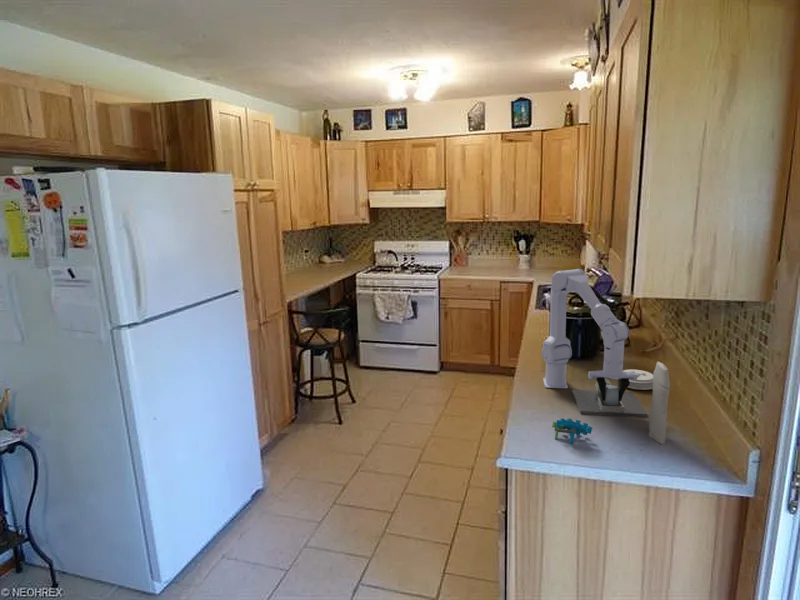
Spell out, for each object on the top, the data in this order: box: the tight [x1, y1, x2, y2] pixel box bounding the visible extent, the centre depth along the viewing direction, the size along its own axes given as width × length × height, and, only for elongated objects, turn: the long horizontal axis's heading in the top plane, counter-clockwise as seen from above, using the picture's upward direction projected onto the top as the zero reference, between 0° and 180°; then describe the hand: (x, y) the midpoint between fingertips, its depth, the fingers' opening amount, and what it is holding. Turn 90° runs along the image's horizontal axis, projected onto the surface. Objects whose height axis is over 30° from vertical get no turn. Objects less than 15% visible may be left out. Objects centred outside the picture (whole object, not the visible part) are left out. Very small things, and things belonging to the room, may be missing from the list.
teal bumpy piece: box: [551, 418, 593, 445], centre depth 143 cm, size 11×6×10 cm
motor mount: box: [572, 379, 648, 418], centre depth 167 cm, size 18×20×6 cm
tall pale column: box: [648, 361, 671, 445], centre depth 142 cm, size 11×4×22 cm, turn 170°
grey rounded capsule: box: [603, 384, 619, 406], centre depth 162 cm, size 4×4×6 cm
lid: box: [623, 369, 654, 391], centre depth 183 cm, size 13×13×5 cm
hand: (610, 399), depth 162 cm, fingers closed on grey rounded capsule, 4 cm apart
